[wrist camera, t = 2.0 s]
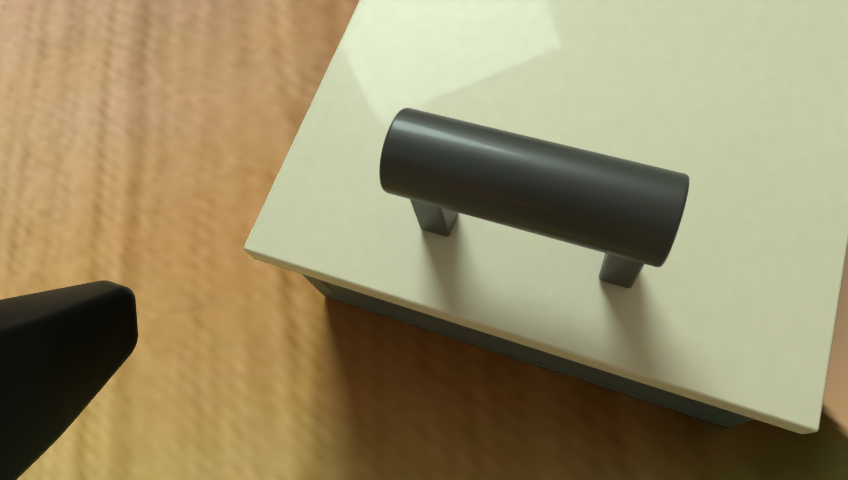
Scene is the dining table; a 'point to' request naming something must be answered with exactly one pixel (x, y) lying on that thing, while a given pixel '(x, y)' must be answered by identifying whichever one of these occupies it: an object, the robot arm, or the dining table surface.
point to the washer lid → (590, 184)
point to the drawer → (533, 356)
